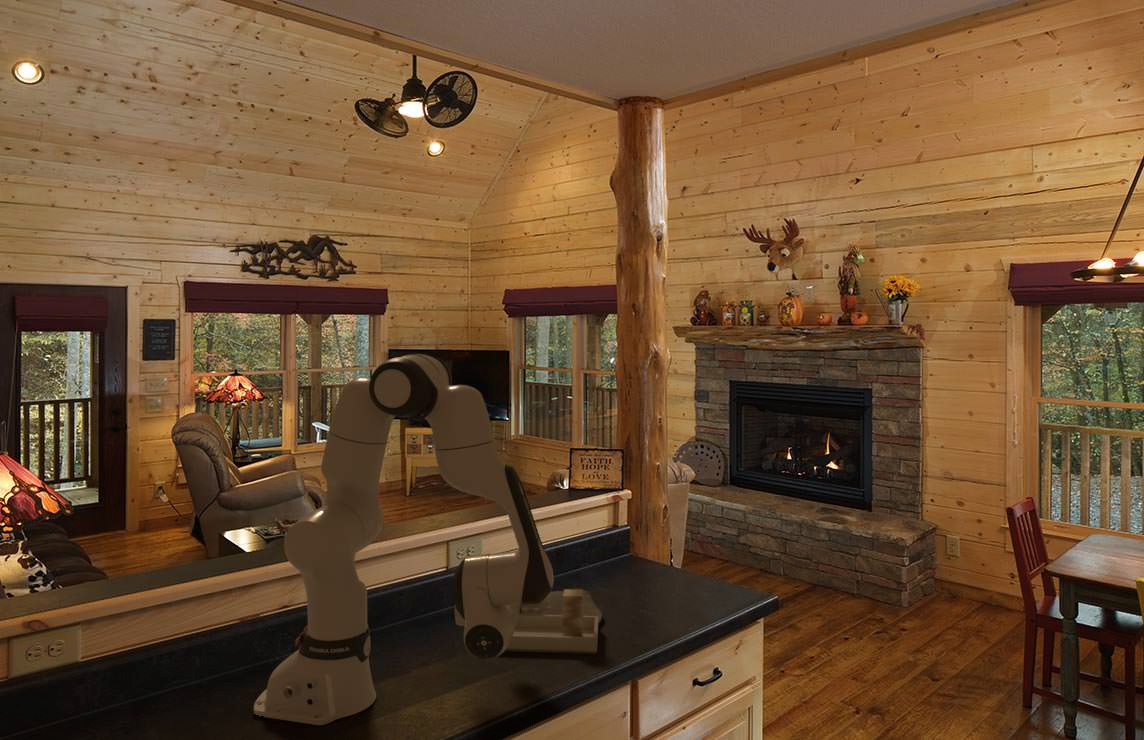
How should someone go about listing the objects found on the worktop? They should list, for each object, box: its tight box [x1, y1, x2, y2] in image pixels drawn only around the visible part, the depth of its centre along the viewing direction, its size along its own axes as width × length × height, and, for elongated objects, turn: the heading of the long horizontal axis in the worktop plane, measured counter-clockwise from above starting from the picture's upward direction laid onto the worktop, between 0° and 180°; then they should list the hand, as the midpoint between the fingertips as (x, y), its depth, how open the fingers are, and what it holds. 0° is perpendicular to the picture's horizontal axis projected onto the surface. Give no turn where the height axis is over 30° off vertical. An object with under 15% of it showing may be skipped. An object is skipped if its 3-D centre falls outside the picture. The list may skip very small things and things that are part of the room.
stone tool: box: [546, 588, 603, 624], centre depth 194 cm, size 20×3×25 cm
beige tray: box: [504, 615, 599, 655], centre depth 177 cm, size 24×14×4 cm, turn 87°
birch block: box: [563, 588, 584, 637], centre depth 176 cm, size 4×4×11 cm
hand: (508, 587), depth 163 cm, fingers closed on sage jar, 5 cm apart
